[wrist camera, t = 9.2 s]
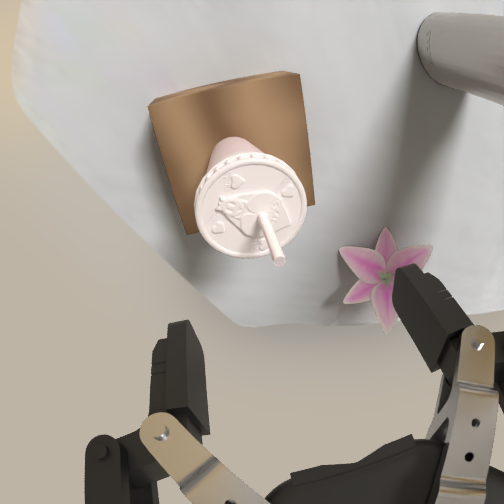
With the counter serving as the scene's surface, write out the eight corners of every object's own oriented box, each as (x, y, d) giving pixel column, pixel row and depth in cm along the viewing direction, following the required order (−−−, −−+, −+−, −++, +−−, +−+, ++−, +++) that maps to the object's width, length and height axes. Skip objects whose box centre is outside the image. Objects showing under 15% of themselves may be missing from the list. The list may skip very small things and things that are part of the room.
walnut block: (283, 70, 26) (299, 74, 22) (299, 183, 33) (315, 204, 29) (155, 98, 26) (147, 106, 22) (187, 209, 33) (186, 234, 29)
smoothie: (255, 202, 28) (299, 318, 17) (184, 182, 26) (179, 298, 15) (284, 135, 25) (360, 216, 14) (208, 110, 23) (222, 171, 12)
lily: (419, 224, 41) (444, 235, 32) (412, 304, 43) (432, 332, 34) (336, 223, 43) (343, 234, 34) (334, 305, 45) (338, 334, 36)
